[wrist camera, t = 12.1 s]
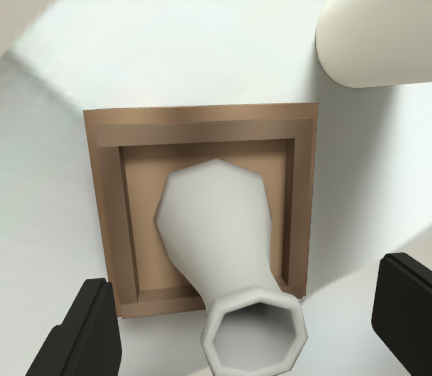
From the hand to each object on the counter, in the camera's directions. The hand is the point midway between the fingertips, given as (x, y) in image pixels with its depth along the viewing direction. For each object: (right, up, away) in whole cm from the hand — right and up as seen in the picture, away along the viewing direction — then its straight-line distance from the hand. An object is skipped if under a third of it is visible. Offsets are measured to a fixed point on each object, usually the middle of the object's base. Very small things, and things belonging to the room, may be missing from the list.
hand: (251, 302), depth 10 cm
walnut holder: (-2, +4, +13) cm, 13 cm away
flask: (-1, +2, +8) cm, 9 cm away
